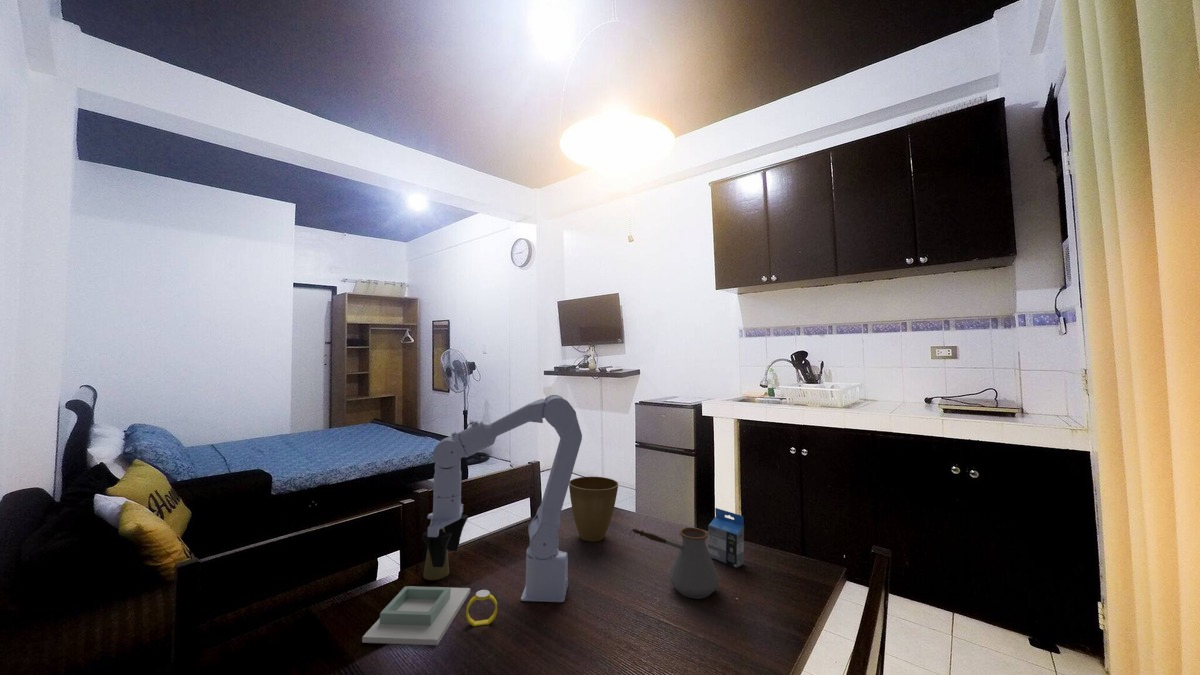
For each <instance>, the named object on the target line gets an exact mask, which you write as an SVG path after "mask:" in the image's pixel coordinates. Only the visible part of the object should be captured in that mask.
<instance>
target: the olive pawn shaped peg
mask: <svg viewBox="0 0 1200 675" xmlns="http://www.w3.org/2000/svg"><path fill="white" fill-rule="evenodd" d="M444 531H445V530H444V528H443V532H444ZM444 533H445V532H444ZM449 563H450V562H449V555H448V551H446V558H445V563H444V566H443V567H433V565H432V561H431V556H430V552H429V549H428V548H427V550H426V556H425V561H424V567H423V575H422V577H423V579H425V580H426V581H427V580H428V581H435V580H436V581H437V580H440V579H441V580H442V579H444V578H446V577H448V575H450V566H449V565H450V564H449Z"/></svg>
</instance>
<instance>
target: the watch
mask: <svg viewBox="0 0 1200 675" xmlns="http://www.w3.org/2000/svg"><path fill="white" fill-rule="evenodd" d="M488 599H489V600H491V601H492V602H493V604H494V608H495V609H494V610H493V613H492V615H490V617H489V618H487V619H482V620H475V619H473V618H472V617H471V614H470V613H469V610H470V608H471V606H472V604H473V603H474V602H476V601H477V600H478V601H485V600H488ZM465 610H466V611H465V617H466V620H467V622H468V624H469V625H471V626H472V627H477V626H478V627H479V626H485V625H487V626H488V625H490V624H491V623H492V622H493V621H495V619H496V616H497V614H498V601H497V599H496V597H495V595H493V594H491V592H490V591H489V590H487V589H481V590H478V591H476V592H475V595H474V596H472V597H471V598H470V600H469V601H468V602H467V604H466V609H465Z"/></svg>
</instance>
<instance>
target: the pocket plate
mask: <svg viewBox="0 0 1200 675" xmlns="http://www.w3.org/2000/svg"><path fill="white" fill-rule="evenodd" d="M470 594H471V588H469V587H444V586H413V585H411V586H410V585H409V586H404V587H403V588H402V589H401V590H400V591H399V592H398V594H397V595H395V597H393V598H392V600H391V601H390V602H389V603H388V604H387V605H386V606H385V607H384V608H383V609H382V610H381V612H380V613H379V618H378V619H377V621H375V623H374V624H372V626H371V627H370V628H369V629H368V630H367V631H366V632H365V634H364V635H363V636H362V638H361V639H362V640H361V641H362V642H361V643H367V644H388V645H389V644H392V645H417V646H418V645H419V646H421V645H422V646H439V643H440V642H441V640H442V639H443V637H444V635H445V634H446V632H447V631H448V629H449V627H450V626H451V624H452V623H453V621H454V619H455V618H456V616H457V614H458V613H459V611H460V610H461V608H462V606H463V605H464V603H465V601H467V598H468V597H469V595H470Z"/></svg>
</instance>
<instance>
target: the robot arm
mask: <svg viewBox="0 0 1200 675" xmlns="http://www.w3.org/2000/svg"><path fill="white" fill-rule="evenodd" d="M543 419H545V420H546V422H547V423H548V424H549V425H550V426H551V427H553V428H554V430H555V431H556V433H557V435H558V437H559V442H558V444H557V445H558V446H557V448H556V453H555V456H554V459H553V463H552V466H551V468H550V472H549V476H548V479H547V482H546V486H545V488H544V489H545V490H544V493H543V496H542V498H541V502H540V505H539V507H538V508H537V511H536V514H535V516H534V517H533V518H532V519H531V521H530V522H529V524H528V528H527V533H528V536H529V546H528V547H527V549H526V558H525V561H526V562H525V564H526V565H525V586H524V589H523V592H522V594H521V597H520V601H522V602H542V603H543V602H546V603H563V602H565V599H566V595H567V590H568V586H569V578H568V577H569V576H568V572H569V571H568V570H569V566H568V565H569V555H568V552H567V551H562V550H559V544H560V542H559V541H560V540H559V534H558V533H559V529H560V527H561V526H560V525H561V524H560V522H561V512H562V510H563V506H564V503H565V499H566V496H567V492H568V488H569V482H570V480H572V478H571V477H572V474H573V471H574V468H575V464H576V461H577V457H578V454H579V450H580V447H581V444H582V441H583V434H582V430H581V427H580V423H579V420H578V416H577V412H576V410H575V408H573V406H572V404H571V403H570V402H569V400H567V399H565V398H564V397H562V396H560V395H558V394H550V395H549V396H547V397H545V398H541V399H538V400H535V401H532V402H530V403H527V404H526V405H524V406H522V407H520V408H518V409H516V410H514V411H512V412H511V413H508V414H507V415H505V416H503V417H501V418H499V419H497V420H495V421H493V422H487V421H484V420H481V421H480V422H478V420H475V421H474V422H472V423H471V426H469V427H468V428H465V429H464V430H461V431H460V432H456V431H455V432H453V433H451V437H450V436H448V437H445V438H443V439H441V440H440V441H439V442H438V443H437V445H436V446H435V447H434V449H433V452H432V460H433V462H434V474H433V498H432V504H433V505H432V512H431V513H428V514H427V517H426V518H427V520H430V524H429V526H427V530H426V531H425V532H423V533H422V540H423V541H424V543H425V546H426V548H427V549H429V552H430V556H431V561H432V565H433V567H443V566H444V563H445V558H446V551H447V552H449V551H450V552H457V551H458V549H459V546H460V541H461V537H462V532H463V530H464V527H465V524H466V523H467V521H468V517H469V516H468V515H467V514H463V513H464V504H463V503H462V470H461V469H462V468H461V466H462V463H461V461H462V460H461V459H463V458H468V457H470V456H473V455H475V454H476V453H478V452H481V451H482V450H485V449H486V448H488V447H490V446H492V445H495V442H496V439H497V437H498V436H501V435H503V434H504V433H506V432H510V431H511V430H514V429H515V428H518V427H520V426H524V425H525V424H528V423H539V424H544V420H543ZM443 528H444V530H445V531H444V532H445V533H444V532H443Z"/></svg>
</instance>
